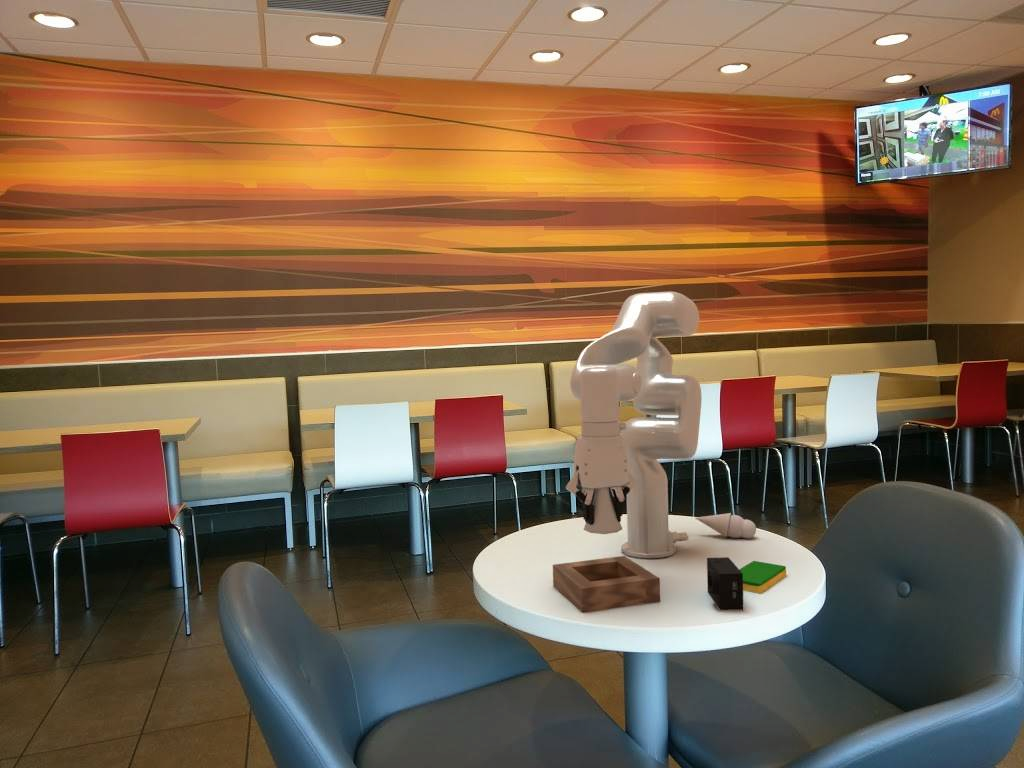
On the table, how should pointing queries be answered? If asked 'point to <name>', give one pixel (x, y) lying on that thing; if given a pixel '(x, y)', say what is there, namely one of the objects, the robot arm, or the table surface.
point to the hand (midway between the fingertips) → (602, 520)
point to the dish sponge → (761, 576)
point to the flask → (603, 514)
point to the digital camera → (725, 583)
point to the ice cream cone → (730, 525)
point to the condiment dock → (606, 583)
